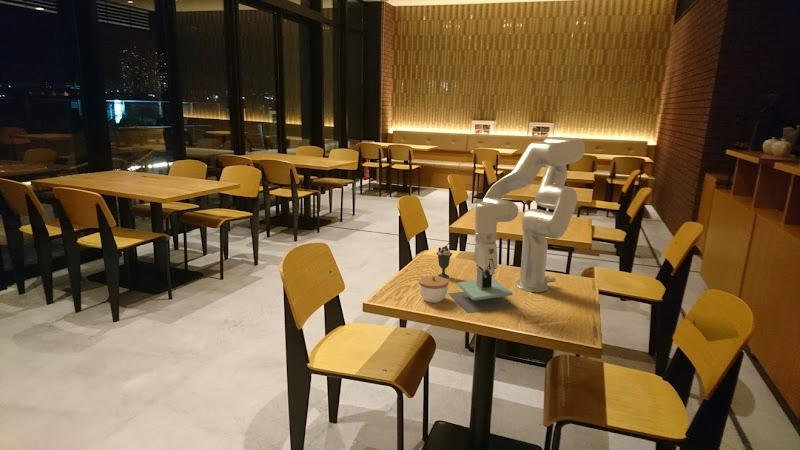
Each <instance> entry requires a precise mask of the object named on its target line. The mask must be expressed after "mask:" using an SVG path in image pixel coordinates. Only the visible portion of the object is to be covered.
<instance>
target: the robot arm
mask: <svg viewBox="0 0 800 450" xmlns="http://www.w3.org/2000/svg"><path fill="white" fill-rule="evenodd" d="M585 151H586V146H585V143H584V142H583V141H582V139H580V138H575V137H561V136H560V137H559V136H551V137H546V138H545V139H543V141H533V142H531V143H529V144H528V146H527V147H526V148H525V150H524V151H523V153H522V155H521V156H520V158H519V159H518V161H517V163H516V164H515V166H514V167H513V169H512V171H511V172H509V173H507V174H506V175H504V176H503V177H502V178H500V179H499V180H497V181H496V182H494V183H493V184H491V187H489V189H488V191H487V192H486V194H485V195H484V197H483V199H482V201H480V202H478V203H477V204H476V205H475V217H474V218H475V219H474V256H473V257H474V263H475V265H476V269H477V268H482V269H484V277H483V288H489V287H491V282H492V278H493V276H494V274H495V270H497V269H498V247H497V243H496V242H497V227H498V223H508V222H512V221H513V220H514V221H515V219H516V218H517V217H518V215H519V207H518V205H517V204H516V203H515V202H514V201H511V200H507V199H503V198H504V196H506V195H507V194H510V192H513V191H516V190H520V189H521V190H522V189H524V188H527V187H529V186H531V185H532V184H533V183H534V181H535V179H536V177H537V176H538V174H539V173H540V171H541V170H542V168H543V167H544V166H545V168H544V169H545V170H544V173H543V175H542V176H543V177H542V179H541V181H540V183H539V186H538V188H537V191H536V194H535V199H534V201H535V203H536V205H537V206H539V207H541V208H544V209H549V210H553V211H548V210H543V209H539V208H530V209H528V210H526V211H525V212H524V213H523V215H522V217H521V230H522V231H521V232H522V248H521V249H522V250H521V258H520V259H521V262H520V273H519V280H516V281H515V287H516V288H517V289H519V290H521V291H524V292H529V293H544V292H546V291H548V290H549V285H548V284H549V283H555V282H556V277H555V276H553V277H550V276H548V275H546V269H547V257H548V248H549V247H548V241H547V238H548V239H553V240H559V239H560V238H562V237H563V236H564V235H565V233H566V232H567V229H568V227H569V225H570V222H571V220H572V217H573V215H574V212H575V210H576V209H577V204H578V194H577V191H576V190H575V189H574V188H572V187H570V186H568V185H567V186H566V185H565V183H566V181H567V178H568V169H567V166H566V165H569V164H574V163H575V162H579V161H580V160H581V159H582V158H583V156H584V155H585ZM487 267H488V268H489V269H487ZM486 271H489V272H487V273H486Z"/></svg>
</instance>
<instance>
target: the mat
mask: <svg viewBox="0 0 800 450" xmlns="http://www.w3.org/2000/svg"><path fill="white" fill-rule="evenodd" d="M447 295H449V296H450V297H451V298H452V300H454V301H455V302H456V303H457V305H459V306H460V307H461V309H463V310H464V311H465V312H466V314H475V313H484V312H493V311H496V312H497V311H504V310H513V309H514V310H516V309H518V307H517V306H515V304H513V303H512V302H510V301H509V300H508V299H506V297H505V296H503V297H495V298H487V299H480V300H472V299H471V298H470V297H469V296H468V295H467V294H466V293H465V292H464V291H458V292H447Z"/></svg>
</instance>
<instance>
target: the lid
mask: <svg viewBox="0 0 800 450" xmlns="http://www.w3.org/2000/svg"><path fill="white" fill-rule="evenodd" d="M487 269H489V267H487ZM487 272H489V271H486V273H487ZM483 277H484V269H482V268H477V267H476V280H467V281H459V282H456V285H457V287H459V288H460V289H461V290H462V292H465V293H466V294H467V295H468V296H469V297H470V298H471V299H472V300H480V299H487V298H495V297H508V296H513V292H512V291H511V290H510V289H508V287H506V286H505V285H503V284H502V283H500V281H499V280H497V279H496V278H494V277H492V282H491V287H489V288H483Z"/></svg>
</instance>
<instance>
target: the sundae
mask: <svg viewBox="0 0 800 450" xmlns="http://www.w3.org/2000/svg"><path fill="white" fill-rule="evenodd" d="M448 245H450V242H448V243H447V244H446V245H444V246H442V247H438V251H437V252H436V255H437V259H438V265H439V267H440V268H441V273H440V274H437V276H439V277H443V278H445V279H449V278H450V275H449V274H446V269H447V268H448V267H449V265H450V261H451V257H452V255H453V252H451V251H450V250H449V247H448Z"/></svg>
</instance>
